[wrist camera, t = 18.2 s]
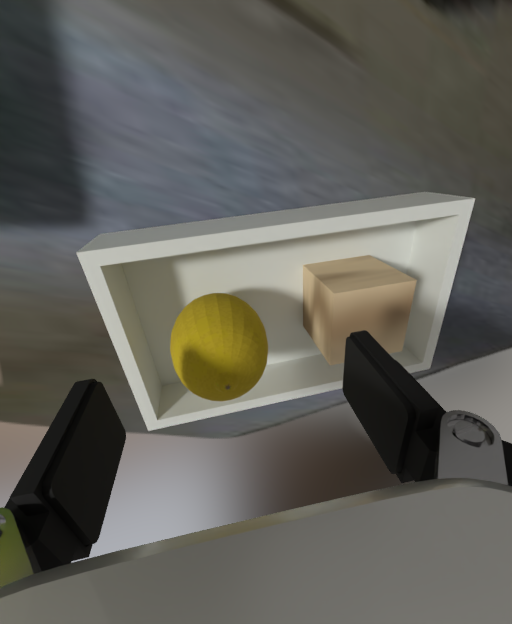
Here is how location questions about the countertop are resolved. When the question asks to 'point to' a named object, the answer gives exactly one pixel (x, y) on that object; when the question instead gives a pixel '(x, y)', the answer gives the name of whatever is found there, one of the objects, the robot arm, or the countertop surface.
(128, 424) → the countertop surface
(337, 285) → the cube
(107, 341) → the countertop surface
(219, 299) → the lemon
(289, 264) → the tray
